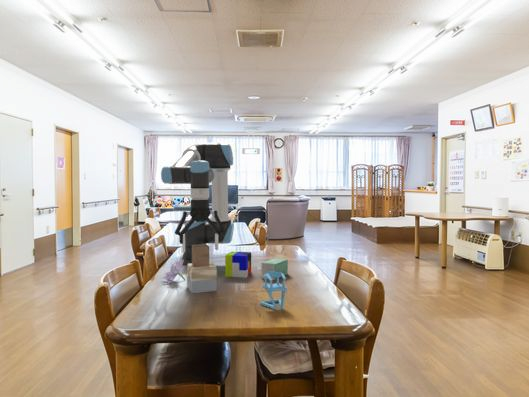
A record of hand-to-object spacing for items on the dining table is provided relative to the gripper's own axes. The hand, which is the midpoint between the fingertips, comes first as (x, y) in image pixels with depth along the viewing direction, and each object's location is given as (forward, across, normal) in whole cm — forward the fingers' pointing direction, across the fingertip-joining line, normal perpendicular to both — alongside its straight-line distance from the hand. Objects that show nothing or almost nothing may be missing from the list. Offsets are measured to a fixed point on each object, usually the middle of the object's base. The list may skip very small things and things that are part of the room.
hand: (200, 250), depth 155 cm
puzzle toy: (+16, +22, +17) cm, 32 cm away
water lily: (+16, -9, +16) cm, 25 cm away
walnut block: (+6, 0, 0) cm, 6 cm away
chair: (+16, +20, -32) cm, 40 cm away
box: (+16, +37, +8) cm, 41 cm away
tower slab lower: (+16, 0, -1) cm, 16 cm away
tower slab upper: (+11, 0, -1) cm, 11 cm away
